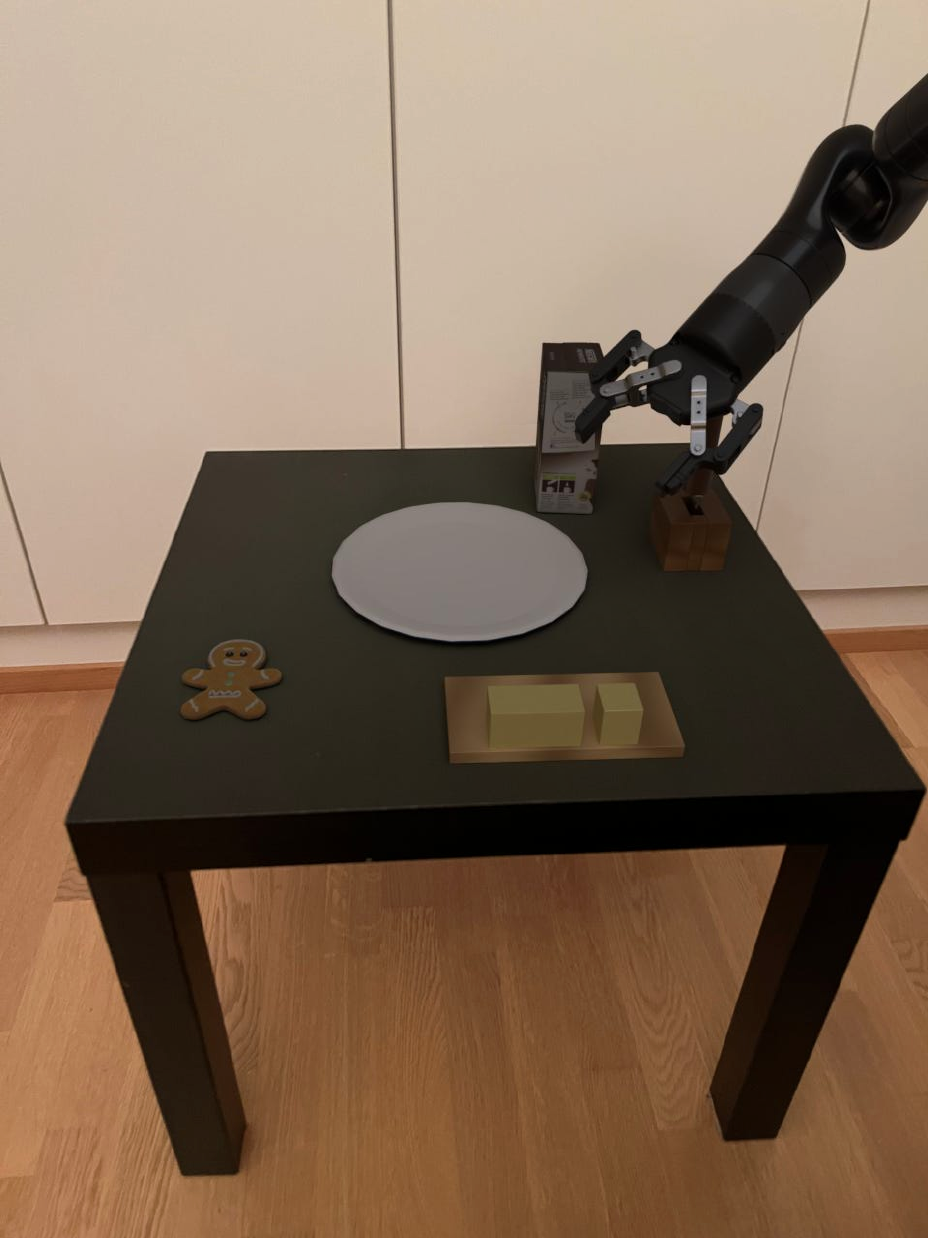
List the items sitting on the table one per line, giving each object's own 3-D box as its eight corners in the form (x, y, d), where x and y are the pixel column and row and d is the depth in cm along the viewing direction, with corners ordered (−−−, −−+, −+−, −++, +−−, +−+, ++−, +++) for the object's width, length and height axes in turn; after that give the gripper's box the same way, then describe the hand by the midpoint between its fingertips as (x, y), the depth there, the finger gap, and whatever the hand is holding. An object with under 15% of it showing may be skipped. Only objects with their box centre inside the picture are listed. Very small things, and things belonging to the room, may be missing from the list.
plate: (629, 556, 96) (631, 546, 96) (500, 686, 79) (501, 674, 79) (429, 488, 107) (429, 478, 107) (277, 590, 90) (276, 579, 90)
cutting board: (656, 682, 80) (658, 671, 79) (683, 757, 73) (685, 746, 72) (444, 687, 79) (444, 676, 78) (449, 764, 72) (449, 752, 71)
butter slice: (629, 716, 75) (635, 682, 73) (638, 744, 72) (644, 709, 70) (592, 717, 75) (596, 683, 73) (599, 745, 72) (604, 710, 70)
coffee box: (594, 515, 103) (610, 372, 94) (535, 513, 103) (545, 370, 94) (587, 476, 111) (601, 340, 101) (532, 475, 111) (541, 339, 101)
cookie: (166, 713, 74) (192, 636, 82) (168, 722, 75) (194, 644, 83) (273, 713, 75) (288, 636, 83) (274, 722, 75) (289, 644, 83)
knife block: (703, 534, 100) (712, 488, 97) (722, 570, 95) (732, 522, 92) (647, 535, 100) (655, 489, 97) (663, 571, 94) (671, 523, 91)
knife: (693, 545, 98) (719, 407, 90) (699, 559, 96) (727, 418, 87) (668, 546, 98) (692, 407, 89) (674, 559, 96) (699, 418, 87)
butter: (574, 718, 75) (578, 683, 73) (580, 746, 72) (585, 711, 70) (485, 720, 74) (487, 685, 72) (489, 748, 72) (490, 713, 69)
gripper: (673, 257, 79) (546, 397, 78) (819, 338, 74) (686, 490, 72) (674, 313, 86) (558, 442, 85) (808, 390, 81) (686, 530, 79)
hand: (617, 464), depth 78 cm, fingers open, 8 cm apart
